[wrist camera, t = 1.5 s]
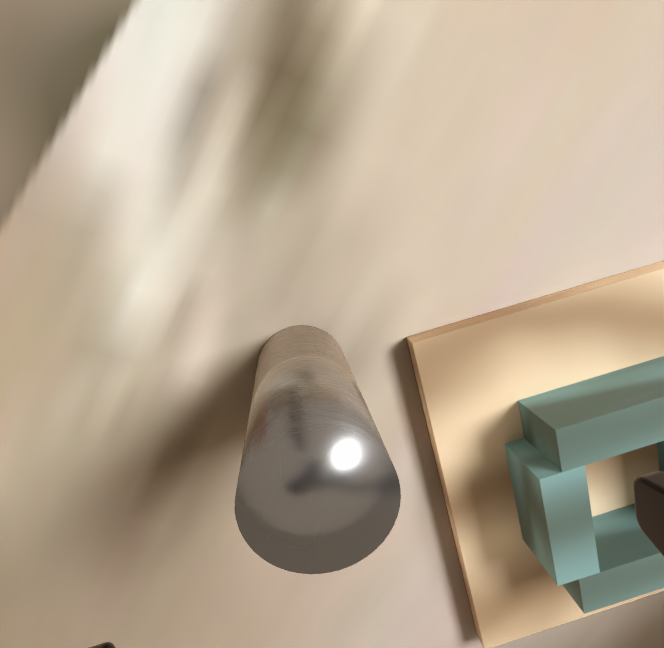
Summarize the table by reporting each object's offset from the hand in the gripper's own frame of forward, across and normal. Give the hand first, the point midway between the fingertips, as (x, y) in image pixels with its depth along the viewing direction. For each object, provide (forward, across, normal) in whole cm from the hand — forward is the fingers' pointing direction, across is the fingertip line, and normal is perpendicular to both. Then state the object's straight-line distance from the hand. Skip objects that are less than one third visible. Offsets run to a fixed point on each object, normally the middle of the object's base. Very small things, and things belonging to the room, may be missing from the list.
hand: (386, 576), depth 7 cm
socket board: (+13, -12, +10) cm, 20 cm away
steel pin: (+13, +1, +1) cm, 13 cm away
